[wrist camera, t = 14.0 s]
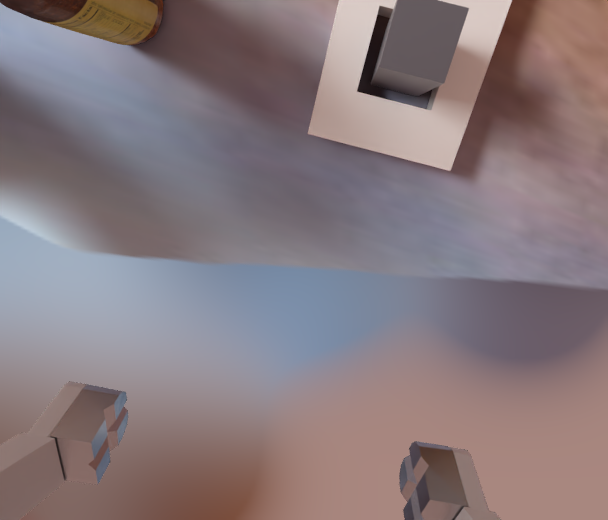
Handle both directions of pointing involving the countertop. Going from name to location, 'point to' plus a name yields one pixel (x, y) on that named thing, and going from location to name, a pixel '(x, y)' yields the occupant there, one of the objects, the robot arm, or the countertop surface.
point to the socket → (393, 115)
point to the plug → (418, 46)
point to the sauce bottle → (97, 17)
